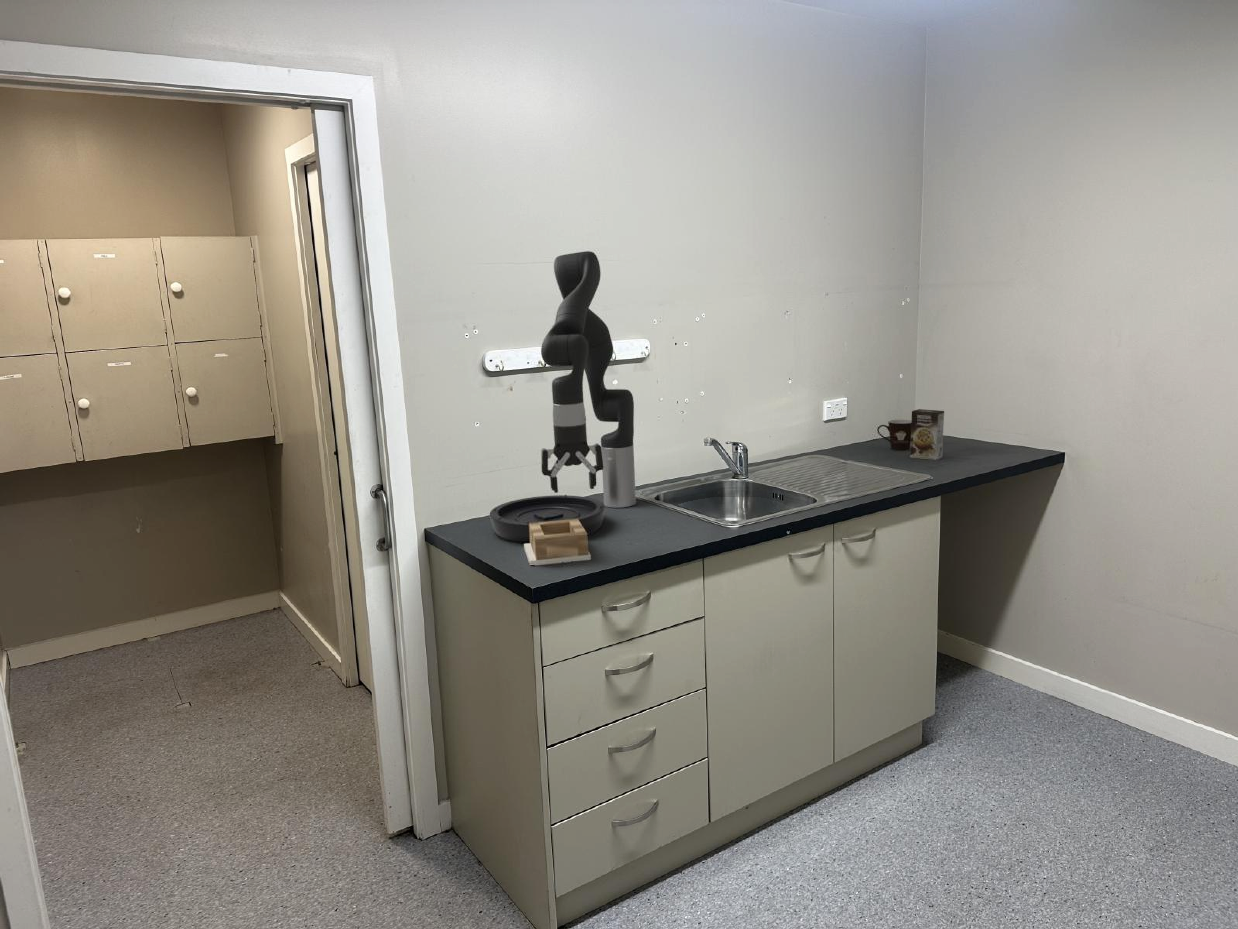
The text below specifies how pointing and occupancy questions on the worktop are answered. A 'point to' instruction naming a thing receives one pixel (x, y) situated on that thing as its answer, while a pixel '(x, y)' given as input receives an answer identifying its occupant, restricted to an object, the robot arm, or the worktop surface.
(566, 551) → the frame
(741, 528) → the worktop surface
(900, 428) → the coffee mug
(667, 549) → the worktop surface
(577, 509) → the round tray
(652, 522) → the worktop surface
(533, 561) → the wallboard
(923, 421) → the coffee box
